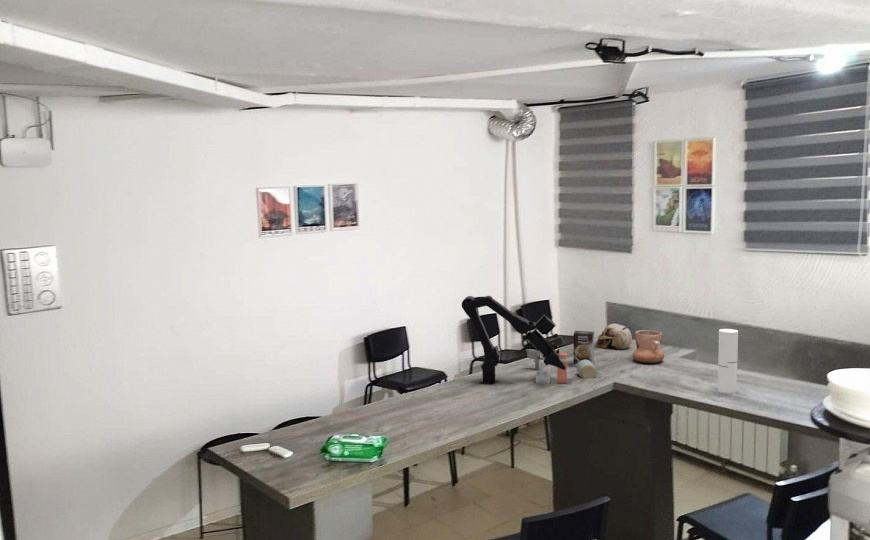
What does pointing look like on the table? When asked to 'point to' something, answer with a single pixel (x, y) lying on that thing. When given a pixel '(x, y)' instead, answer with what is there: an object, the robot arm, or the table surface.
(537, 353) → the mechanical component
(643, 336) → the ceramic jug
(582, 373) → the ceramic mug
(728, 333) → the cylindrical container
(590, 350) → the coffee box
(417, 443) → the table surface
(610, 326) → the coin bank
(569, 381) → the stand base
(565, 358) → the salmon pink rectangular block
